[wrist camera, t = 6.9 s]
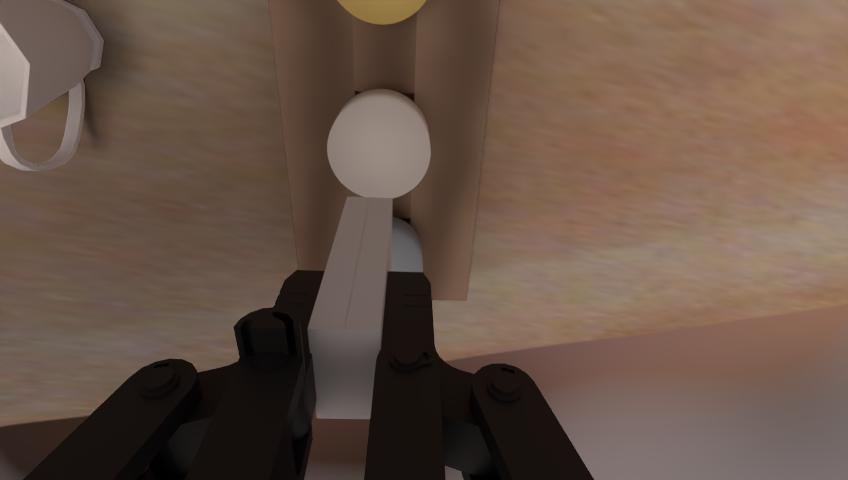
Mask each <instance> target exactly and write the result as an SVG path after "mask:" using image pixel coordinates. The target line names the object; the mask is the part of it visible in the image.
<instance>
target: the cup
mask: <svg viewBox="0 0 848 480" xmlns="http://www.w3.org/2000/svg"><path fill="white" fill-rule="evenodd" d="M103 45H104V40H103V38H102V37H101V35H100V33H99V32H98V30H97V29H96V27H95V25H94V24H93V22H92V21H91V19H90V17H89V16H88V14H87V13H86V11H85V10H83V9H81V8H79V7H77V6H74V5H72V4H70V3H68V2H66V1H64V0H0V159H1V160H2V161H3V162H4V163H5V164H8V165H10V166H12V167H15V168H17V169H20V170H25V171H42V170H50V169H55V168H57V167H60V166H62V165H65V164H66V163H67V162H68V161H69V160H70V159H71V158H72V157H73V155H74V154H75V153H76V150H77V147H78V144H79V141H80V139H81V132H82V126H83V119H84V111H85V84H84V81H83V78H84V77H85V76H86V75H87V74H88V73H89V72H90V71H92V70H95V69H97V68H100V64H101V58H102V51H103ZM67 91H69V108H68V115H67V122H66V128H65V134H64V137H63V140H62V144H61V147H60V149H59V150H58V151H57V152H56V154H55V155H54V156H53V157H52V158H51V159H49V160H46V161H43V162H40V163H35V164H33V163H31V162H28V161H26V160H24V159H22V158H21V157H20V156H19V154H18V153H17V152H16V150H15V145H14V141H13V137H12V132H11V125H10V124H12V123H15V122H18V121H20V120H23V119H25V118H27V117H29V116H30V115H32V114H33V113H35V112H37V111H38V110H40V109H41V108H43V107H44V106H46V105H47V104H49V103H50V102H51V101H53V100H54V99H56V98H58V97H59V96H61V95H63V94H64V93H66V92H67Z"/></svg>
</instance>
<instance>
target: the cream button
mask: <svg viewBox="0 0 848 480" xmlns="http://www.w3.org/2000/svg"><path fill="white" fill-rule="evenodd" d="M327 154H328V159H329V163H330V166H331V168H332V170H333V172H334V174H335V176H336V177H337V178H338V180H339V181H340V182H341V183H342V184H343V185H344V186H345V187H347V188H348V189H349V190H351V191H352V192H354V193H356V194H358V195H360V196H363V197H375V198H396V197H399V196H402V195H404V194H406V193H407V192H409V191H411V190H412V189H413V188H415V187H416V186H417V185H418V184H419V182H420V181H421V180H422V179H423V177H424V175H425V173H426V171H427V169H428V166H429V162H430V156H431V147H430V139H429V131H428V125H427V122H426V119H425V117H424V115H423V113H422V112H421V110H420V109H419V107H418V106H417V105H416V104H415V103H414V102H413V101H412V100H411V99H409V98H408V97H407V96H405V95H403V94H401V93H399V92H396V91H393V90H389V89H371V90H367V91H364V92H361V93H359V94H357V95H356V96H354V97H353V98H351V99H350V100H349V101H348V102H347V103H346V104H345V105H344V106H343V108H342V109H341V111H340V113H339V115H338V116H337V118H336V120H335V122H334V124H333V126H332V128H331V130H330V133H329V137H328V142H327Z"/></svg>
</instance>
